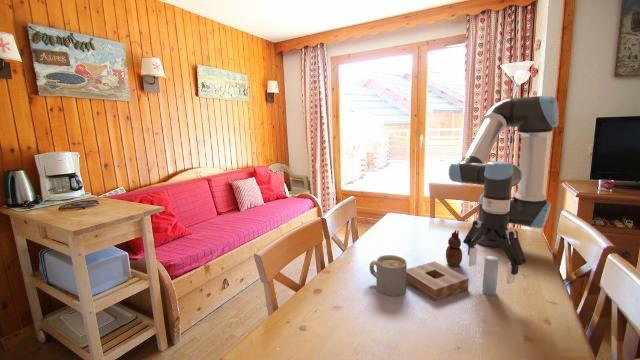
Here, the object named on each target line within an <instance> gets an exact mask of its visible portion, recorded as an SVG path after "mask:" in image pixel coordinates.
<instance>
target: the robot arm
mask: <svg viewBox="0 0 640 360" xmlns="http://www.w3.org/2000/svg"><path fill="white" fill-rule="evenodd" d="M559 122H560V111H559V104H558V100H557V99H556V97H555V96H552V95H539V96H528V97H527V96H526V97H511V98H507V99H504V100H502V101H499V102H497V103H496V104H494V105H493V106H491V107H490V108H489V109H488V110H487V111H486V112H485V113H484V115H482V118H481V119H480V127H479V128H478V130H477V132H476V134H475V136H474V137H473V139H472V141H471V142H470V144H469V147H468V148H467V150H466V152H465V154H464V156H463V157H462V158H461V160H459V161H453V162H451V163H450V165H449V168H448V177H449V180H450V181H451V182H455V183H461V184H469V185H470V184H471V185H480V186H483V193H482V194H481V195H480V196H479V201H478V217H477V219H476V220H473V221H472V224H471V225H472V226H471V228H470V229H469V231H468V232H467V234H466V236H465V238H464V239H463V242H462V243H463V244H466V245H467V256H468V266H469V267H474V266H476V265H477V258H478V257H477V256H478V246H477V245H481V246H484V247H489V248H502V249H503V252H504V253H505V255H506V257H507V258H508V260H509V262H508V265H507V275H506V285H511V284H514V283H515V282H516V275H518V273H519V269H520V266H522V265H525V264H527V260H526V257H525V253H524V252H523V249H522V246H521V243H520V240H519V232H518V231H517V230H510V229H509V230H508V225H509V224H512V225H517V226H522V227H527V228H535V229H542V228H543V227H544V226H546V222H547V220H548V219H549V214H550V211H551V205H552V203H551V202H550V201H548V200H547V195H545V194H544V192H543V190H544V180H545V178H544V177H545V167H546V159H547V158H546V156H547V147H548V146H547V145H548V144H547V143H548V136H549V135H550V134H551V133H553V131H554V128H556V127H558V126H559ZM506 128H517V133H518V134H519V135H520V137H521V138H520V139H521V142H520V156H519V166H518V165H516V164H514V163H512V162H510V161H500V160H497V161H488V162H486V161H487V160H488V158H489V156H490V154H491V151H492V150H493V147H494V145H495V143H496V141H497V140H498V138H499V136H500V134H501V133H502V132H503V131H504V130H506ZM516 186H518V187H517V191H516V192H515V193H514V194H513V196H511V194H512V188H513V187H516Z"/></svg>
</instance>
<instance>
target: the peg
mask: <svg viewBox="0 0 640 360" xmlns="http://www.w3.org/2000/svg"><path fill="white" fill-rule="evenodd" d="M499 260H500V259H499V258H498V257H496V256H493V255H486V256H485V257H484V260H483V261H484V263H483V275H482V277H483V278H482V288H481V289H482V291H481V292H482V293H483V294H484V295H487V296H490V297H491V296H492V297H493V296H496V295H497V285H498V274H499V273H498V272H499V263H500V262H499Z"/></svg>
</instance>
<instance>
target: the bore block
mask: <svg viewBox="0 0 640 360" xmlns="http://www.w3.org/2000/svg"><path fill="white" fill-rule="evenodd" d="M406 284H408V285H409V286H411V287H413V289H416V290H417V291H419V292H420V293H422V294H423V295H425V296H426V297H428V298H429V299H430V300H432V301H434V302H437V301H440V300H442V299H445V298H448V297H451V296H453V295H456V294H459V293H461V292H465V291H467V290H469V278H468V277H467V276H465V275H462V274H461V273H459V272H458V271H457V272H456V271H455V270H453V269H451V268H449V267H447V266H445V265H443V264H441V263H439V262H437V261H435V260H434V261H431V262H427V263H424V264H419V265H417V266H413V267H410V268H407V269H406Z"/></svg>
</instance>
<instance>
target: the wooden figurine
mask: <svg viewBox="0 0 640 360" xmlns="http://www.w3.org/2000/svg"><path fill="white" fill-rule="evenodd" d="M459 231H460V230H459V229H458V230H457V229H455V230H454V231H452V233H451V236H450V237H449V238H448V240H447V243H448V244H447V245H448V246H447V247H446V249H445V260H446V263H447V265H448V266H450V267H454V268H456V267H459V266H460V265H461V263H462V260H463V251H462V249H461V246H462V241H461V238H459Z"/></svg>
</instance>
